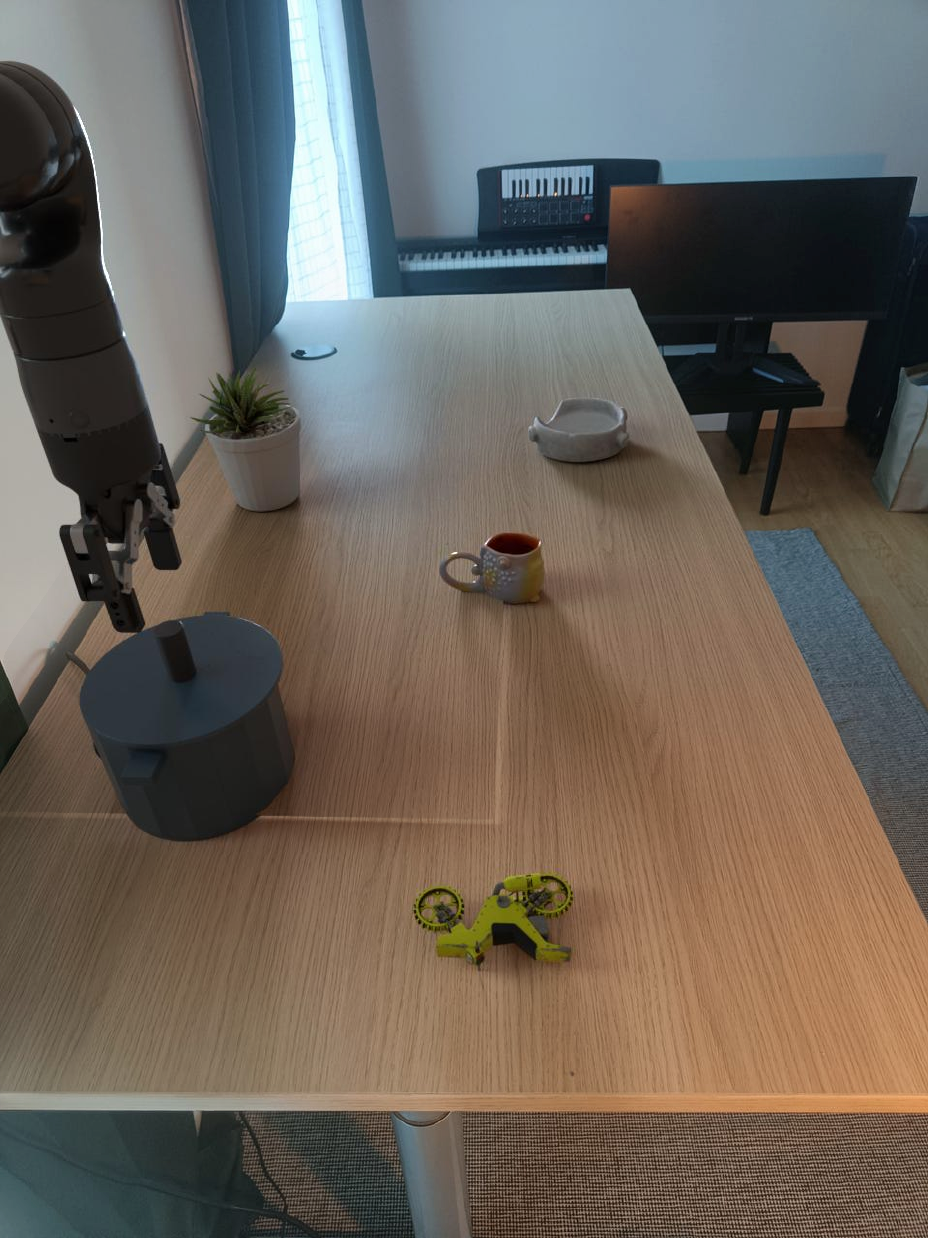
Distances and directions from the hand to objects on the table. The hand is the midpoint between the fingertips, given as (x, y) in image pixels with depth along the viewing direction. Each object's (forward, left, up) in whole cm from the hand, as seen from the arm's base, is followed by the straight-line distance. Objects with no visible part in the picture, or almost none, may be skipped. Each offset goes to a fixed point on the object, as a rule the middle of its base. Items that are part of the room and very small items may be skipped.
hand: (151, 597), depth 70 cm
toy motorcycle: (+28, -17, -19) cm, 38 cm away
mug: (+26, +28, -19) cm, 43 cm away
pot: (+1, -1, -19) cm, 19 cm away
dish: (+38, +66, -19) cm, 78 cm away
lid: (+1, -1, -8) cm, 8 cm away
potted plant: (-7, +51, -19) cm, 55 cm away
